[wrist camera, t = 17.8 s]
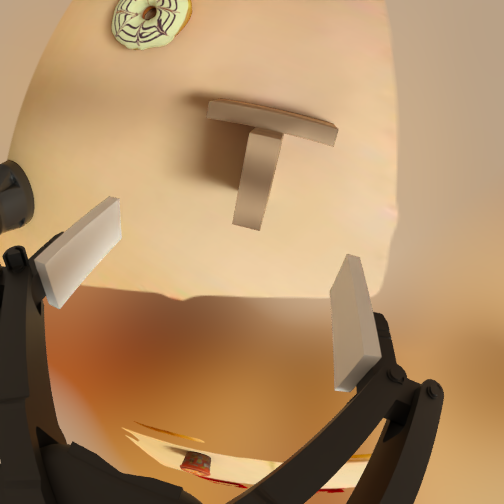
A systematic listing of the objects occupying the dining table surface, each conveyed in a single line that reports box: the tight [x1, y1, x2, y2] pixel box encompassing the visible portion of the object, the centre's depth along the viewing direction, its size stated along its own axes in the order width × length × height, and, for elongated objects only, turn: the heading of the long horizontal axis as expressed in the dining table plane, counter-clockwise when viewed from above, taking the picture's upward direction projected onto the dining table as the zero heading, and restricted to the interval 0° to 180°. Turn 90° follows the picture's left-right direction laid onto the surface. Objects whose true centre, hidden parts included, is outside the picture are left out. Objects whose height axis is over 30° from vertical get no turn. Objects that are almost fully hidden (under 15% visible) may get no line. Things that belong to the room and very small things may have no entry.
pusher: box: [206, 99, 338, 231], centre depth 31 cm, size 12×14×9 cm
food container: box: [180, 452, 211, 476], centre depth 113 cm, size 16×16×11 cm
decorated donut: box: [112, 0, 192, 50], centre depth 24 cm, size 10×11×4 cm
